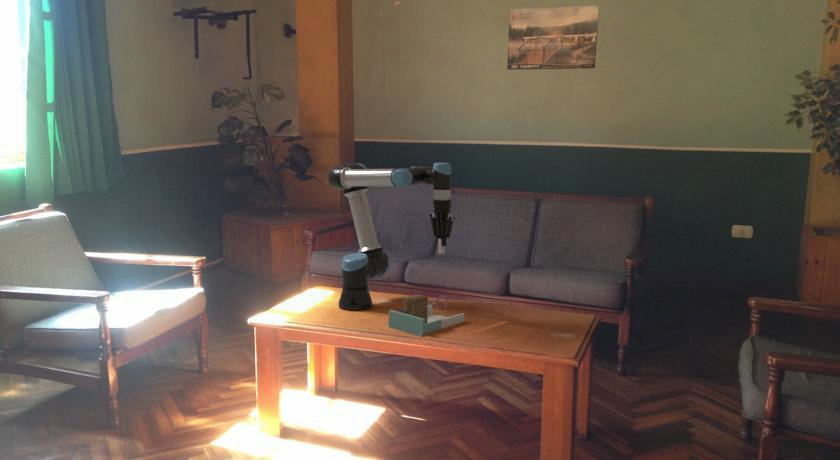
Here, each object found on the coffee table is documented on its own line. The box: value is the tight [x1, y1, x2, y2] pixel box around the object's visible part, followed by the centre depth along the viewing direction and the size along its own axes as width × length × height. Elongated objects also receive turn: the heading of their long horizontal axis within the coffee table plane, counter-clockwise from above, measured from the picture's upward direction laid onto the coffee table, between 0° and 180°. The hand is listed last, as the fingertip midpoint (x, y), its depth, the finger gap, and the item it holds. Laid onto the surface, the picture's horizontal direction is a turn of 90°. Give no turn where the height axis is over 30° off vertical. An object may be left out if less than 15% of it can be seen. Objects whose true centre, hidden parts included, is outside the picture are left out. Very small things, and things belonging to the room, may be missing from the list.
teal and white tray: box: [388, 304, 465, 338], centre depth 294 cm, size 19×25×7 cm
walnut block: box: [402, 293, 429, 324], centre depth 289 cm, size 6×8×12 cm
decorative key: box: [428, 295, 449, 310], centre depth 320 cm, size 7×1×20 cm
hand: (441, 253), depth 310 cm, fingers closed
